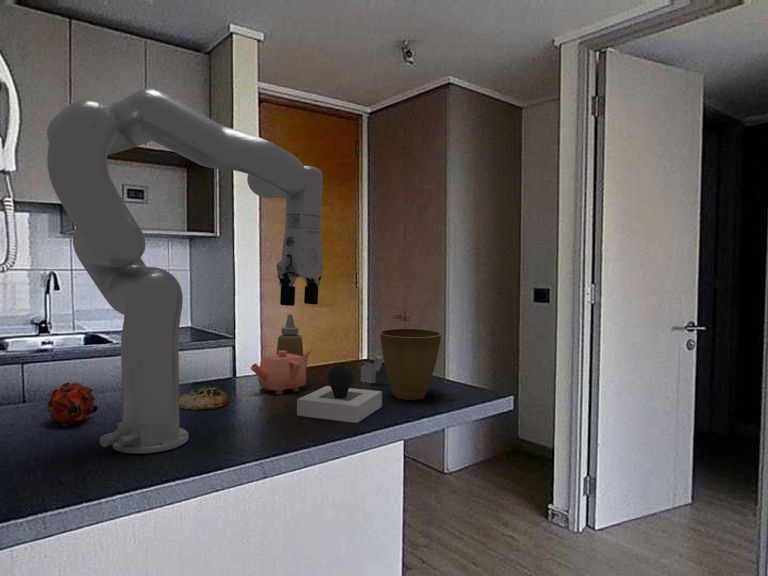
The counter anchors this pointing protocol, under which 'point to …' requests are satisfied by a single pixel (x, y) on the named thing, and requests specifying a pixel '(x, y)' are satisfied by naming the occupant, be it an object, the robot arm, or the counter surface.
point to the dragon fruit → (71, 403)
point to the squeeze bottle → (290, 339)
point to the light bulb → (340, 380)
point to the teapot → (282, 371)
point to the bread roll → (203, 399)
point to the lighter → (371, 370)
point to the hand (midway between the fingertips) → (299, 304)
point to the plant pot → (410, 360)
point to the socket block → (339, 404)
